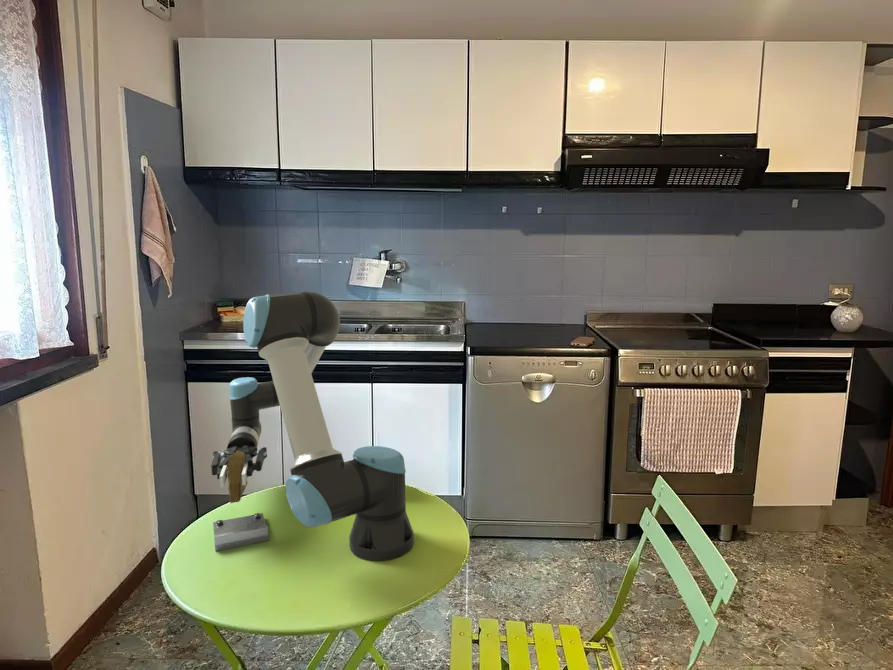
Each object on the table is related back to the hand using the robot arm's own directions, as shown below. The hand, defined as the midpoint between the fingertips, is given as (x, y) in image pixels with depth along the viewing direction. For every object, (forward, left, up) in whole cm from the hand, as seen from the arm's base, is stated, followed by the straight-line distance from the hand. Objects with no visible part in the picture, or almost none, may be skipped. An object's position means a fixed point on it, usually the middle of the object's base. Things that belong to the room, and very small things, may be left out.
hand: (232, 480), depth 140 cm
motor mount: (+5, -1, -16) cm, 17 cm away
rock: (+5, -1, -6) cm, 8 cm away
